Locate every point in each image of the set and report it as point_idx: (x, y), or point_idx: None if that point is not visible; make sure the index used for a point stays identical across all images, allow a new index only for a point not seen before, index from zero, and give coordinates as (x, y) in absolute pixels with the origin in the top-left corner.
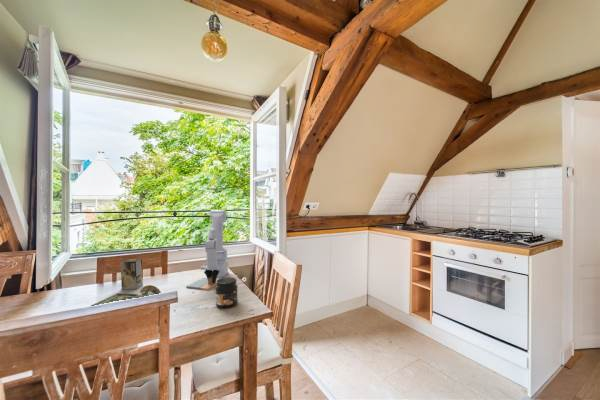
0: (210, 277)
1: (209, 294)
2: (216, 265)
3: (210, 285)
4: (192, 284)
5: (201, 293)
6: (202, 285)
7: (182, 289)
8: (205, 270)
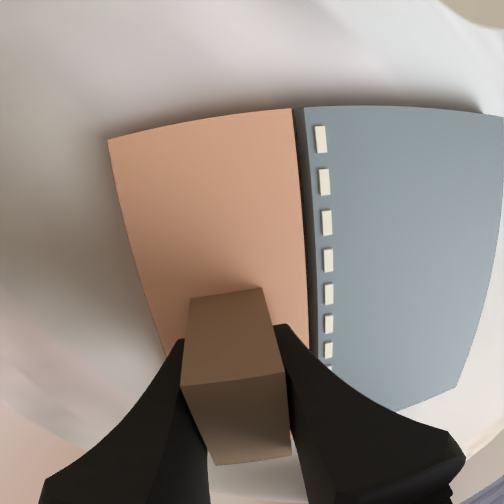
0: (247, 402)
1: (8, 67)
2: None
3: (186, 271)
4: (480, 188)
5: (129, 16)
6: (325, 210)
7: (488, 68)
8: (448, 495)
